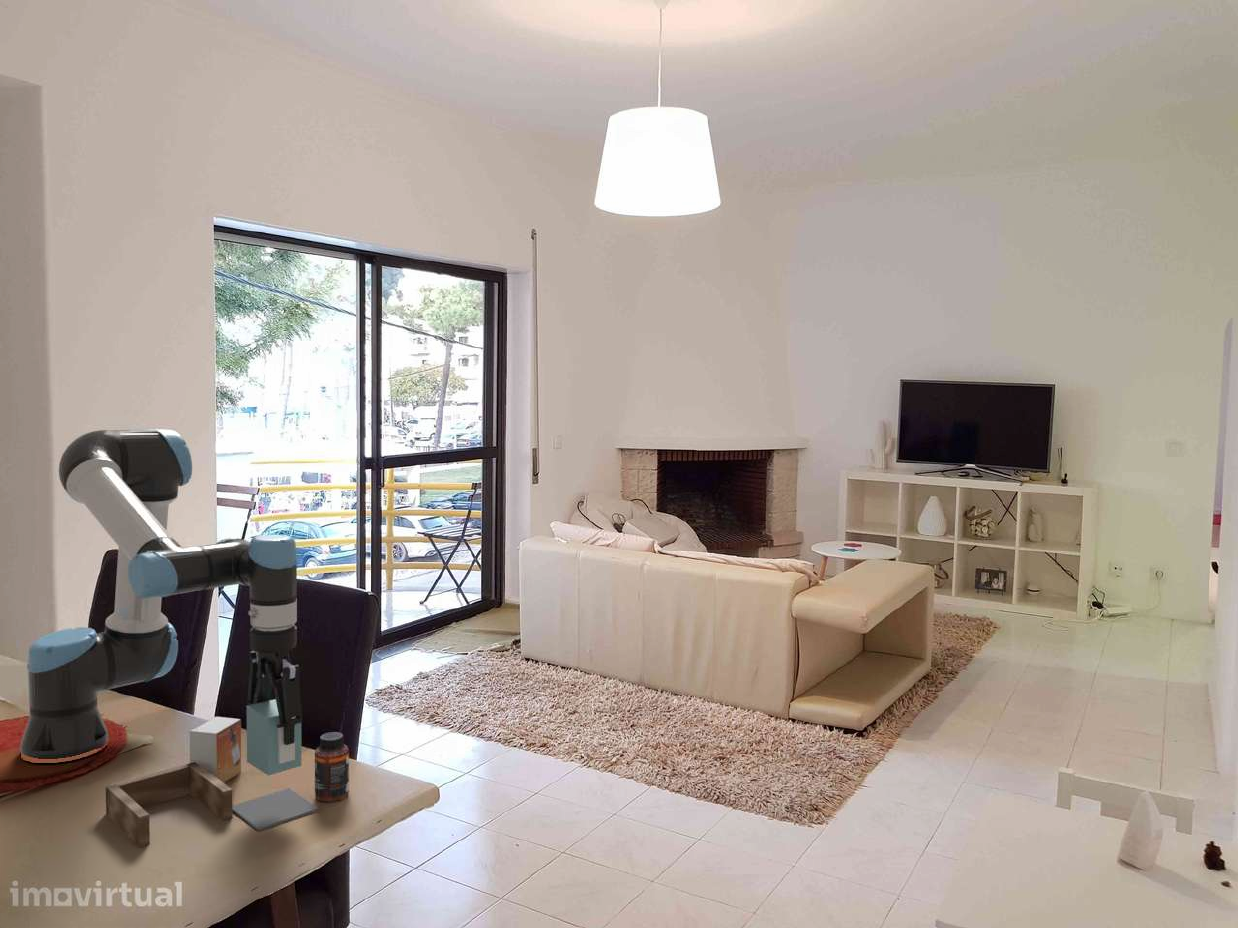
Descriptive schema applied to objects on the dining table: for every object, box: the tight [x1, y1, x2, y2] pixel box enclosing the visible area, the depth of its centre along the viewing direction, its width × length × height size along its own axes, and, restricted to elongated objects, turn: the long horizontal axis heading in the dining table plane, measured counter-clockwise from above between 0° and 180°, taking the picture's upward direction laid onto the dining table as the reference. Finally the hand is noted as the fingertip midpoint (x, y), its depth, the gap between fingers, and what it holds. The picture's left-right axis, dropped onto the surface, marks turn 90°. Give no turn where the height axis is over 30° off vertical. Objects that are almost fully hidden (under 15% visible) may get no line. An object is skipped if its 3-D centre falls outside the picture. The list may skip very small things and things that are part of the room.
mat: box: [232, 787, 320, 831], centre depth 164 cm, size 11×11×1 cm
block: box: [246, 698, 302, 777], centre depth 162 cm, size 6×8×10 cm
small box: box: [189, 716, 242, 784], centre depth 175 cm, size 8×6×10 cm
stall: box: [105, 762, 233, 848], centre depth 160 cm, size 16×15×5 cm
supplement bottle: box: [314, 731, 350, 803], centre depth 169 cm, size 6×6×11 cm
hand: (274, 753), depth 163 cm, fingers closed on block, 8 cm apart
